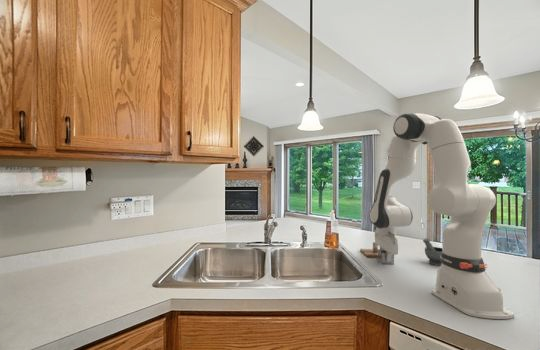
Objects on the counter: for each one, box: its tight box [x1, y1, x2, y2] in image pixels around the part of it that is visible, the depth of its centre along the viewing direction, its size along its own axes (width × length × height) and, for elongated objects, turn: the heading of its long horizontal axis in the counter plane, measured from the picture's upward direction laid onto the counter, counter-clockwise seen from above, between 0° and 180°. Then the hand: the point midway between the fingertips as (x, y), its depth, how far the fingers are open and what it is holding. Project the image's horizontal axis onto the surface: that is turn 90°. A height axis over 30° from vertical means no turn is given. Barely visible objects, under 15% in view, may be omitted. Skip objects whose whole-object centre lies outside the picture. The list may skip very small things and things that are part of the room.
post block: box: [359, 241, 380, 259], centre depth 139 cm, size 12×12×6 cm
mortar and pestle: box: [422, 237, 442, 267], centre depth 125 cm, size 11×9×12 cm
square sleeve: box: [377, 250, 395, 265], centre depth 127 cm, size 6×6×5 cm
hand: (385, 258), depth 127 cm, fingers closed on square sleeve, 6 cm apart
